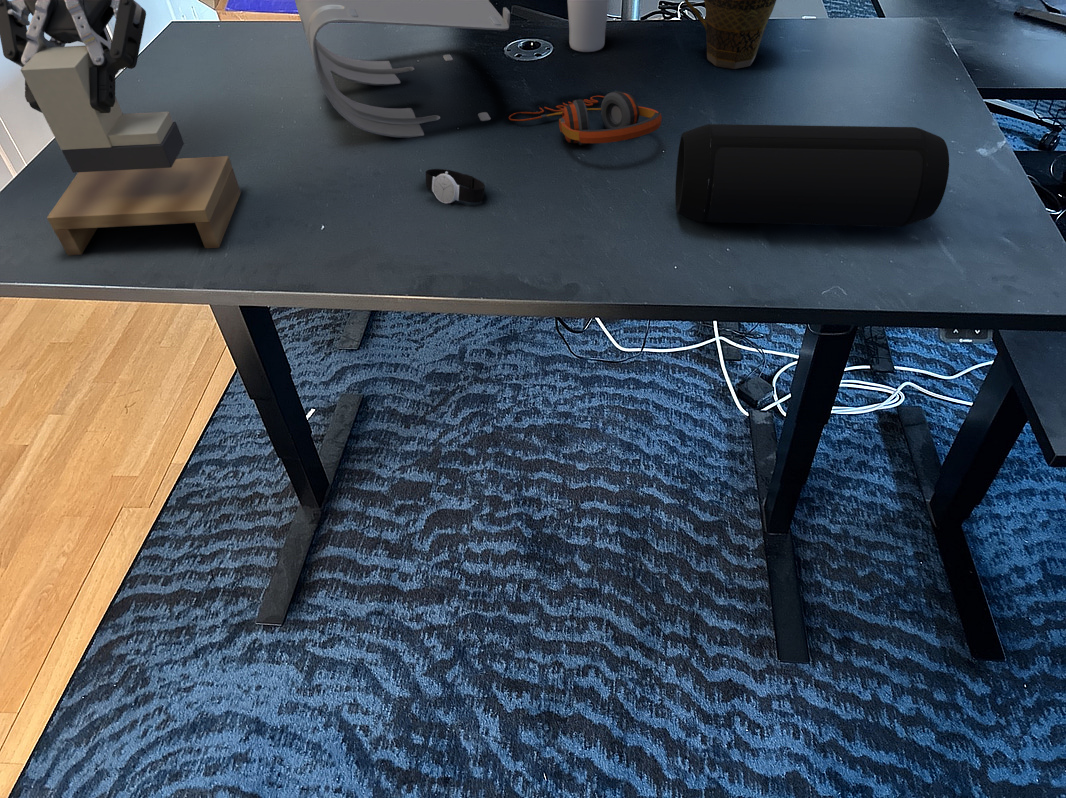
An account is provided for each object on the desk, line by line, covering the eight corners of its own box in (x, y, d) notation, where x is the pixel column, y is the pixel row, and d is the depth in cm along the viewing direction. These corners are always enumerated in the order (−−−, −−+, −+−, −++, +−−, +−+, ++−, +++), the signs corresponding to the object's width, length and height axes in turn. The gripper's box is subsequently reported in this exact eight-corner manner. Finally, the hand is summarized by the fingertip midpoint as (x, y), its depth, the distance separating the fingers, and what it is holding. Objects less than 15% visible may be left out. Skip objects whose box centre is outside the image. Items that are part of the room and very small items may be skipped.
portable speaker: (903, 195, 86) (934, 109, 79) (927, 247, 79) (964, 158, 72) (672, 190, 88) (682, 106, 81) (676, 241, 81) (687, 153, 74)
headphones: (504, 135, 103) (568, 172, 87) (498, 94, 100) (564, 124, 84) (615, 110, 107) (695, 140, 92) (613, 69, 105) (695, 94, 89)
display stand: (68, 258, 82) (46, 217, 78) (103, 202, 89) (84, 162, 86) (220, 250, 82) (204, 209, 78) (242, 195, 90) (228, 155, 86)
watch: (417, 195, 89) (412, 167, 86) (442, 177, 91) (439, 149, 89) (470, 215, 85) (467, 186, 83) (495, 196, 88) (493, 167, 85)
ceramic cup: (773, 51, 114) (787, -23, 106) (756, 79, 107) (770, 2, 100) (688, 38, 118) (696, -33, 110) (667, 64, 111) (674, -10, 104)
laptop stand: (311, 73, 112) (284, -44, 101) (468, 49, 117) (458, -66, 106) (336, 156, 95) (306, 26, 84) (518, 123, 100) (512, -4, 89)
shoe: (72, 172, 78) (19, 69, 70) (89, 148, 82) (41, 47, 74) (171, 167, 78) (129, 64, 71) (184, 143, 82) (145, 42, 74)
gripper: (-32, -91, 70) (-32, 96, 71) (120, -94, 69) (119, 96, 70) (27, -46, 78) (26, 123, 78) (164, -48, 77) (163, 123, 77)
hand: (70, 109), depth 74 cm, fingers closed on shoe, 5 cm apart
